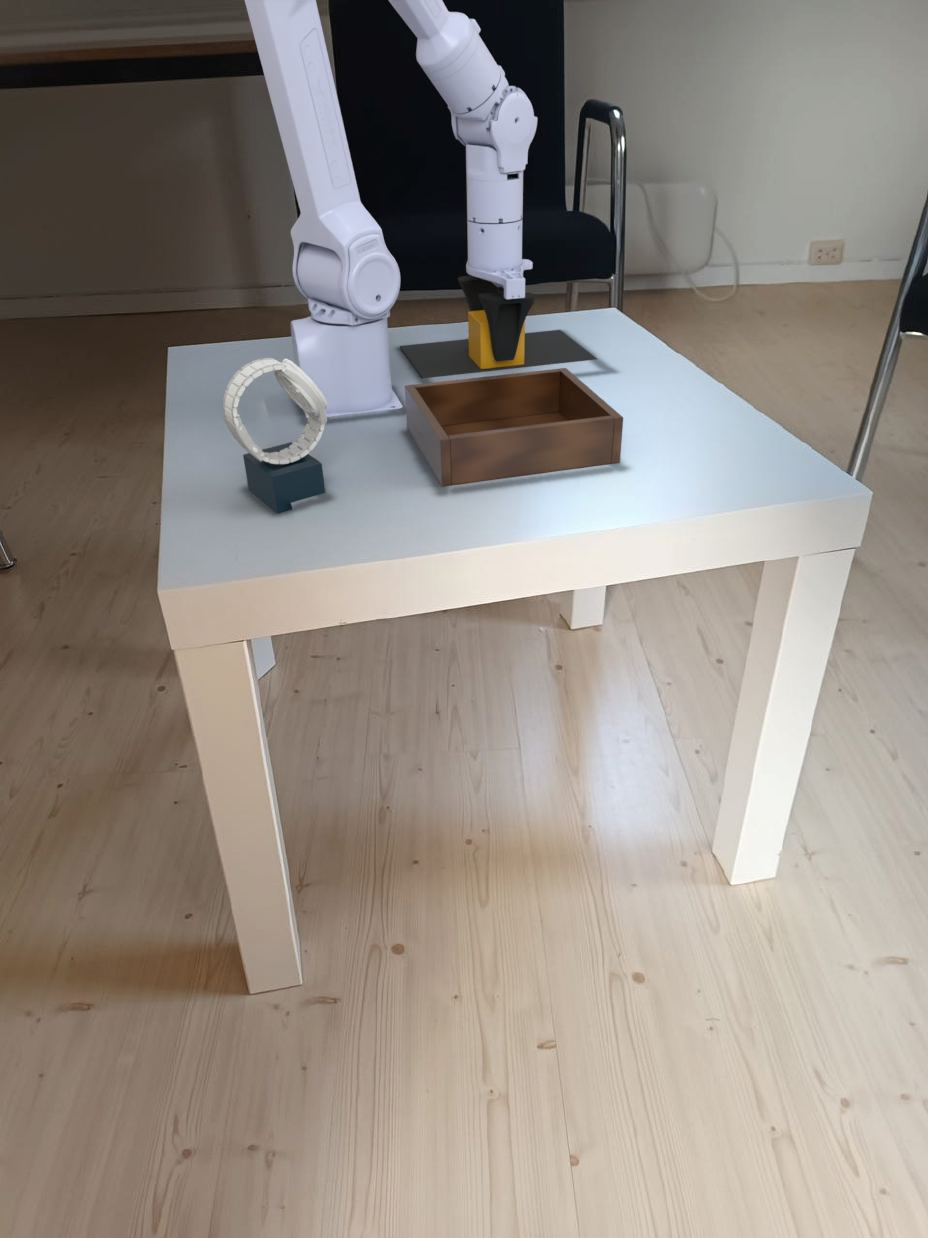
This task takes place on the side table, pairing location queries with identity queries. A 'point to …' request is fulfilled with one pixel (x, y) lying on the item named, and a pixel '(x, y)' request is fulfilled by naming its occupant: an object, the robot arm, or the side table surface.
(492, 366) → the cube
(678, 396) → the side table surface
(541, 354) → the mat
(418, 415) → the box
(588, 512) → the side table surface
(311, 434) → the watch
